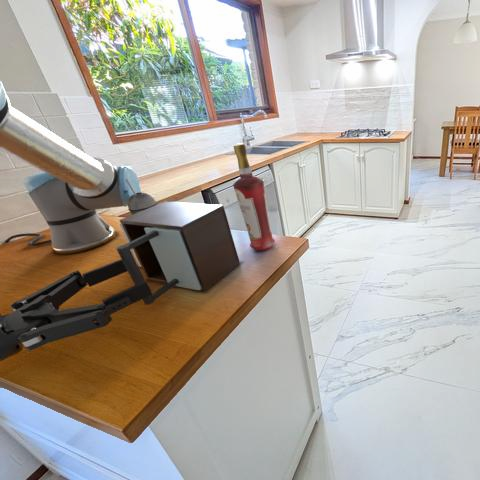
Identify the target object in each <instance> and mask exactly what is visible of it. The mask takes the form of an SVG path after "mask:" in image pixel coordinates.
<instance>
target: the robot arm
mask: <svg viewBox="0 0 480 480" xmlns="http://www.w3.org/2000/svg"><path fill="white" fill-rule="evenodd" d="M0 152H3V153H5V154H7V155H8V156H11V157H13V158H15V159H17V160H19V161H21V162H23V163H25V164H27V165H29V166H31V167H34V168H36V169H38V170H40V171H41V172H38V173H35V174H31V175H28V176H26V177H25V178H24V179H23V185H24V187H25V189H26V190H27V194H28V195H29V197H30V198H31V200H32V202H33V203H34V205H35V206H36V208H37V209H38V211H39V212H40V214H41V216H42V217H43V219H44V220H45V221H46V223H47V225H48V227H49V232H50V239H47V240H43V241H38V240H40V239H42V237H43V234H41V233H35V232H34V233H32V232H30V233H29V232H28V233H19V234H14V235H12V236H9V237H10V238H9V237H8V238H9V239H8V240H6V239H5V240H4V244H7V243H9V242H11V240H13V239H16V238H21V237H35V238H32V239H31V240H29V241H28V242H27V245H28V246H31V247H35V246H40V245H45V244H49V243H51V248H52V249H53V250H54V252H55V253H56V254H58V255H69V254H70V255H71V254H77V253H81V252H86V251H88V250H92V249H94V248H97V247H100V246H102V245H105V244H106V243H108V242H110V241H111V240H113V239H114V238H115V237H116V232H115V228H114V227H112V226H111V225H109V223H107V222H106V221H105V220H104V218H103V217H101V216H100V215H99V214H98V212H97V210H103V209H111V208H120V207H121V208H122V207H125V208H127V207H128V200H129V198H130V197H131V196H132V195H133V194H134V193H133V192H132V190H131V188H130V187H129V185H128V183H127V181H126V180H125V179H128V181H129V183H130V184H131V186H132V188H133V189H134V191H135V193H139V192H141V191H142V190H141V184H140V180H139V177H138V175H137V174H136V173H137V172H135V171H134V169H133V168H132V167H131V166H127V165H120V166H115V165H113V164H111V163H110V162H108V161H107V160H105V159H104V158H100V157H91V156H89V155H87V154H86V153H84V152H83V151H81V149H78V148H76V147H75V146H74V145H72V144H70V143H68V142H67V141H66V140H64V139H62V138H61V137H59V136H58V135H56V134H55V133H53V132H52V131H50V130H49V129H47V128H46V127H44V126H43V125H41V124H40V123H38V122H36V120H33V119H32V118H31V117H29V116H27V115H26V114H24V113H22V112H21V111H20V110H18V109H16V108H15V107H13V106H11V102H10V99H9V97H8V95H7V94H6V90H5V88H4V85H3V83H2V81H1V80H0ZM36 241H38V242H36ZM124 273H128V271H127V269H126V267H125V265H124V263H123V261H122V259H121V258H120V259H118V260H116V261H113V262H109V263H108V264H105V265H103V266H100V267H97V268H94V269H92V270H89V271H87V272H83V273H81V271H80V270H74V271H72V272H70V273H68V274H66V275H65V276H62V277H60V278H59V279H57V280H55V281H53V282H51V283H50V284H48V285H46V286H44V287H42V288H40V289H38V290H36V291H35V292H33V293H31V294H29V295H27V296H25V297H23V298H21V299H18V300H15V301H13V302H11V303H10V304H9V306H10V308H11V309H12V310H13V311H11V312H9V313H7V314H5V315H4V314H1V312H0V362H2V361H5V360H6V359H8V358H10V357H12V356H15V355H17V354H19V353H20V352H21V351H22V350H23V347H24V348H25V349H26V350H27V351H33V350H35V349H38V348H40V347H42V346H45V345H47V344H50V343H53V342H55V341H59V340H63V339H66V338H70V337H73V336H77V335H81V334H84V333H86V332H87V333H88V332H90V331H94V330H98V329H101V328H104V327H106V326H108V325H109V324H110V323H111V322H112V321H113V317H112V315H113V314H115V313H117V312H119V311H121V310H123V309H125V308H127V307H129V306H131V305H134V304H135V303H138V302H139V301H143V300H142V299H144V298H146V297H148V296H150V295H152V294H153V292H152V290H151V288H150V286H149V283H148V282H147V281H146V280H145V281H143V282H141V283H139V284H137V285H131V286H130V287H128V288H126V289H124V290H121V291H119V292H117V293H115V294H112V295H110V296H108V297H105V298H104V299H102V300H101V301H102V303H97V304H93V305H85V306H80V307H79V306H78V307H73V308H67V309H60V307H61V306H62V305H63V304H65V303H66V302H67V301H68V300H70V299H71V298H73V297H74V296H75V295H76V294H78V293H79V292H81V291H82V290H83V289H85V288H86V287H87V286H88V287H89V288H91V287H93V286H95V285H98V284H101V283H103V282H105V281H108V280H111V279H112V278H115V277H117V276H121V275H123V274H124Z"/></svg>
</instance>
